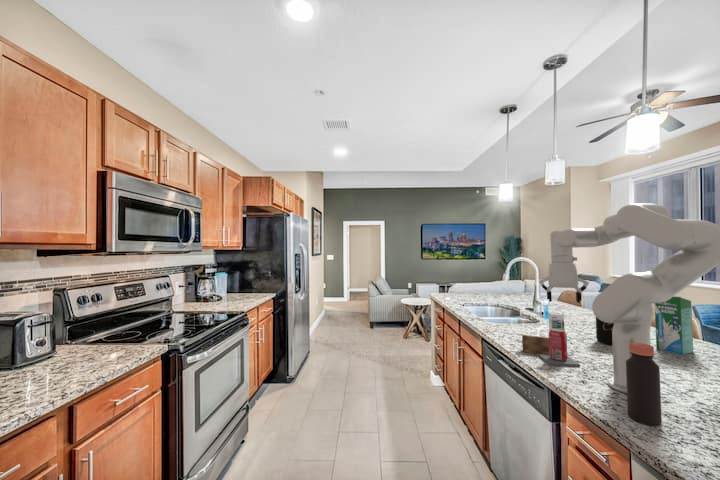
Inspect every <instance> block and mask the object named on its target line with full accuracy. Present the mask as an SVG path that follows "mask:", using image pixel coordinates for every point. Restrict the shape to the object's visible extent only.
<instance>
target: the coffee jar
mask: <svg viewBox="0 0 720 480" xmlns="http://www.w3.org/2000/svg"><path fill="white" fill-rule="evenodd" d="M613 326H614V323H606V322H603V321H601V320H599V319H598V318H597V317H596V316H595V329H596V330H595V332H596V334H595V336H596V340H597V342H598V343H600V344H603V345H607V346H612V347H613V345H612V331H613Z"/></svg>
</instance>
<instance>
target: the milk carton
mask: <svg viewBox="0 0 720 480" xmlns="http://www.w3.org/2000/svg"><path fill="white" fill-rule="evenodd" d="M692 314H693V312H692V300H689V299H686V298H685V297H684V298H683V297H682V296H680V295H677V294H676V295H675V296H673V297H672V298H671V299H669V300H667V301H665V302H661V303H654V316H655V317H654V318H655V319H654V320H655V340H656V341H655V345H656V347H655V348H656V349H657V350H660V351H665V352H668V353H673V354H676V355H687V354H691V353H694V339H693V336H694V334H693V315H692Z"/></svg>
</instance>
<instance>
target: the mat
mask: <svg viewBox="0 0 720 480" xmlns="http://www.w3.org/2000/svg"><path fill="white" fill-rule="evenodd" d="M537 356H538V357H539V358H540V359H541V360H542V361H543V362H545V363H546V364H547V365H548V366H549V367H569V368H571V367H573V368H574V367H575V368H580V367H581V364H580V363H579V362H577V361H575V360H574V359H573V358H571V357H570V356H569V355H567V359H566V360H564V361H559V360H555V359H552V358H551V357H550V354H537Z"/></svg>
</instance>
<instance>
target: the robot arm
mask: <svg viewBox="0 0 720 480" xmlns="http://www.w3.org/2000/svg"><path fill="white" fill-rule="evenodd" d="M671 217H672V216H671V212H670V211H669V210H668V209H667V208H666V207H665V206H663V205H661V204H658V203H656V204H655V203H636V202H635V203H629V204H626V205H624V206H622V207H621V208H619V209H618V211H617V212H616V213H615V214H613V215H609V216H608V217H607V216H606V218H605V219H604V221H603V223H602V224H603V225H599V226H595V227H591V228H590V227H589V228H586V227H585V228H584V227H583V228H581V227H579V228H577V227H575V228H572V227H571V228H567V229H564V230H563V229H560V230H553V231H550V234H549V237H550V238H549V239H550V255H551V256H550V257H551V263H549V265H548V272H547V273H548V276H547V277H544V278H543V279H540V280H538V283H539V284H540V287H541V288H543V290H545V291H546V299H547V300H548V302H552V301H553V300H552V291H551V290H552V289H553V288H561V289H565V288H566V289H575V290H576V292H575V301H576V303H578V304H580V302H581V301H582V293H583V292H584V291H586V289H587V287H588V286H589V284H590V282H589V281H587V280H585V279H582V278H580V277H579V276H578V270H577V266H576V263H574V262H575V261H578V257H575V256H573V255H574V252H573V249H574V248H596V247H599V246H604V245H605V246H606V245H608V244H612V243H616V242H618V241H619V240H621V239H622V240H623V239H625V238H630V237H634V236H635V237H637V238H639V239H640V240H643V241H645V242H647V243H648V244H649V243H650V244H651V245H653V246H655V247H658V248H660V249H664V250H670V251H677V252H675V253H674V254H671V255H670V256H668V257H667V258H665V259H663V260H662V261H661V262H660V263H659V264H658V265H656V266H654V267H653V268H652V269H650V270H648V271H643V272H631V273H626V274H623V275H621V276H620V277H618V278H616V279H615V280H614V281H613V282H612V283H610V284H609V285H607V286H606V288H604V290H602V291H601V292H600V293H598V295H597V296H596V297H595V298H594V299H593V302H592V304H591V309H592V312H593V314H594V316H595V318H596V317H597V318H598V319H599V320H601V321H603V322H606V323H614V326H613V331H612V345H613V346H612V345H611V346H612V366H613V377H611V378H609V379H607V384H608V386H610V387H611V389H612V388H613V389H614V390H616V391H618V392H621V393H625V394H627V377H626V360H628V359H629V358H630V357H632V354H631V353H630V343H643V344H648V345H651V328H652V327H651V325H652V321H653V314H654V309H653V304H655V303H661V302H665V301H667V300H669V299H671V298H672V297H673V296H675V295H676V296H677V295H678V294H680V292H682V291H683V290H685V289H686V288H687V287H689V286H690V285H692V284H693V283H694V282H696V281H697V280H699V279H701V277H703V276H705V275H706V274H707V273H709V272H710V271H712V270H713V269H714V268H715V267H716V266H718V265H719V264H720V226H719V225H718V224H716V223H714V222H711V221H709V220H703V219H679V218H678V219H675V218H671ZM546 282H548V286H547V285H545V283H546ZM579 283H583V284H582V286H581V287H579Z"/></svg>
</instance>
